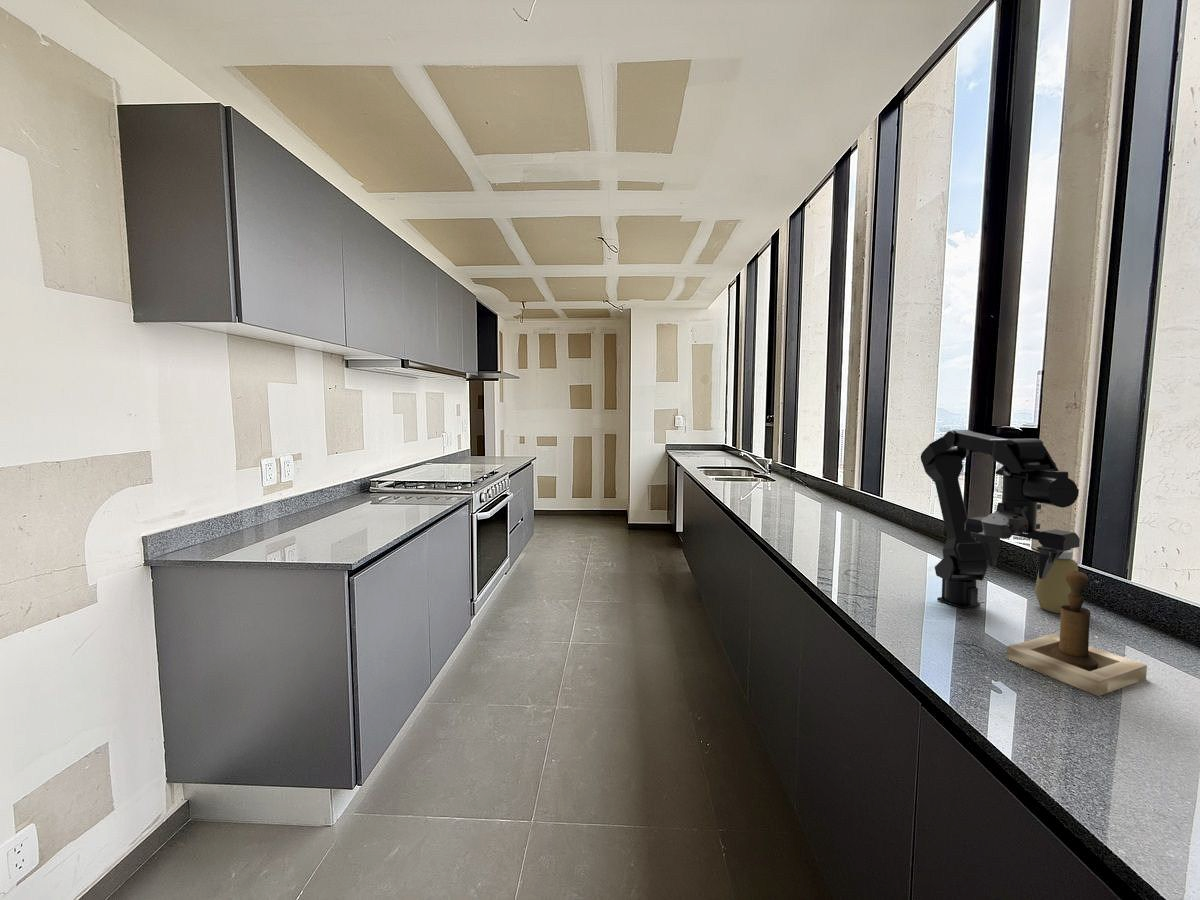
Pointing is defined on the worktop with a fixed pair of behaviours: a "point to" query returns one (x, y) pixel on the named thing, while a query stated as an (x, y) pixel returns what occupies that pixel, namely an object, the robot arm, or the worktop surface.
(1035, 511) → the robot arm
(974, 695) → the worktop surface
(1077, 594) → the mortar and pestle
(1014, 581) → the worktop surface
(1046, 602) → the squeeze bottle
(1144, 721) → the worktop surface
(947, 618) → the worktop surface
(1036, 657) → the frame
